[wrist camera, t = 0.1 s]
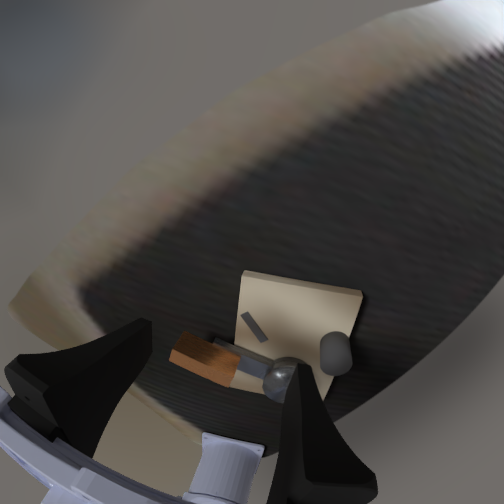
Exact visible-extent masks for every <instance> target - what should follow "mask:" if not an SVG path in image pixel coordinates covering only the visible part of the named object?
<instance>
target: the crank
mask: <svg viewBox="0 0 504 504" xmlns="http://www.w3.org/2000/svg"><path fill="white" fill-rule="evenodd" d="M169 361H171V362H173V363H175V364H177V365H179V366H181V367H183V368H185V369H187V370H190V371H192V372H194V373H196V374H198V375H200V376H203V377H205V378H207V379H209V380H212V381H214V382H216V383H218V384H221V385H223V386H226V387H229V385H230V383H231V381H232V380H233V378H234V375H235V372H236V370H240V371H242V372H245V373H247V374H250V375H252V376H255V377H257V378H260V379H262V380H263V385H262V388H263V391H264V393H265V395H266V396H267V397H269V398H270V399H272V400H274V401H276V402H279V403H284V399H285V394H286V390H287V388H288V385H289V383H290V380H291V378H292V375H293V373H294V370H295V368H296V365H297V363H302V364H307V363H305V362H304V361H302V360H300V359H297V358H293V357H282V358H278V359H275V360H274V361H271V360H268V359H266V358H263V357H261V356H258V355H256V354H253V353H251V352H249V351H246V350H244V349H242V348H239V347H237V346H235V345H232V344H230V343H228V342H225V341H223V340H221V339H219V338H215V340H214V342H213V344H212V343H210V342H207V341H205V340H203V339H201V338H199V337H197V336H195V335H193V334H190V333H188V332H186V331H184V332H183V334H182V335H181V337H180V338H179V340H178V341H177V343H176V344H175V346H174V347H173V349H172V352H171V356H170V359H169ZM307 365H308V364H307Z"/></svg>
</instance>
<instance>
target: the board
mask: <svg viewBox="0 0 504 504" xmlns="http://www.w3.org/2000/svg"><path fill="white" fill-rule="evenodd" d="M362 298H363V295H362V292H361V291H360V290H354V289H348V288H342V287H337V286H331V285H325V284H319V283H313V282H307V281H302V280H296V279H290V278H285V277H279V276H274V275H268V274H263V273H257V272H252V271H246V270H244V272H243V274H242V279H241V287H240V296H239V306H238V315H237V324H236V333H235V342H234V345H235V346H237V347H239V348H242V349H244V350H246V351H249V352H251V353H253V354H256V355H258V356H261V357H263V358H266V359H268V360H271V361H274V360H275V359H278V358H282V357H293V358H297V359H300V360H302V361H304V362H305V363H307V364H308V365H310V366H311V367H312V371H313V374H314V378H315V381H316V384H317V387H318V390H319V393H320V395H321V398H322V400H324V398H325V396H326V394H327V391H328V389H329V387H330V385H331V382H332V380H333V377H334V376H330V375H327V374H325V373H323V372H322V370H321V368H320V341H321V339H322V337H323V336H324V335H325V334H327V333H329V332H333V331H339V332H343V333H345V334H346V335H347V336H348V338H349V337H350V334H351V331H352V328H353V325H354V322H355V320H356V317H357V314H358V311H359V308H360V305H361V302H362ZM262 385H263V380H262V379H260V378H257V377H255V376H252V375H250V374H247V373H245V372H242V371H240V370H236V372H235V375H234V378H233V380H232V381H231V383H230V387H233V388H237V389H242V390H247V391H251V392H256V393H261V394H265V393H264V391H263V388H262Z"/></svg>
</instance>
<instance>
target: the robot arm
mask: <svg viewBox="0 0 504 504" xmlns="http://www.w3.org/2000/svg"><path fill="white" fill-rule="evenodd" d="M151 353H152V321H149V320H146V319H143V318H139V319H137V320H135V321H133V322H131V323H129V324H127V325H125V326H124V327H122V328H120V329H118V330H116V331H114V332H112V333H110V334H107V335H105V336H103V337H101V338H98V339H96V340H94V341H91V342H89V343H86V344H83V345H80V346H77V347H73V348H69V349H65V350H61V351H56V352H50V353H42V354H19V355H18V356H17V357H16V358H15V359H14V360H12V361H11V362H10V363H9V364H8V365H7V366H6V367H5V369H4V371H5V375H6V378H7V380H8V382H9V384H10V385H11V387H12V389H13V391H14V393H15V396H14V397H13V398H12V397H11V396H10V395H9V394H8V393H7V392H6V391H5V390H4V389H3V388H2V387H1V386H0V447H1V448H2V449H3V450H5V452H7V453H8V454H9V455H10V456H11V457H12V458H13V459H14V460H15V461H16V462H17V463H18V464H20V465H21V466H22V467H23V468H24V469H25V470H26V471H28V472H29V473H30V474H31V475H32V476H34V477H35V478H36V479H37V480H38V481H40V482H41V483H42V484H44V485H45V486H46V487H47V488H49V489H50V490H49V492H48V493H47V494H46V496H45V497H44V499H43V501H42V502H41V504H247V502H248V498H249V494H250V490H251V485H252V481H253V477H254V474H256V471H257V468H258V466H259V463H260V460H261V457H262V454H263V451H264V448H265V447H264V446H263V445H260V444H254V443H249V442H244V441H240V440H235V439H231V438H226V437H222V436H218V435H214V434H211V433H207V432H204V433H203V434H202V448H203V455H202V457H201V460H200V462H199V465H198V468H197V470H196V473H195V475H194V478H193V481H192V483H191V486H190V488H189V491H188V493H187V492H184V495H183V497H181V496H177V497H174V496H172V495H169V494H166V493H164V492H160V491H158V490H156V489H153V488H151V487H148V486H146V485H144V484H141V483H139V482H137V481H135V480H132V479H130V478H128V477H126V476H124V475H122V474H120V473H118V472H116V471H114V470H112V469H110V468H108V467H106V466H104V465H102V464H100V463H99V462H97V461H95V460H93V459H92V458H93V455H94V453H95V450H96V448H97V445H98V443H99V440H100V438H101V436H102V433H103V431H104V429H105V427H106V425H107V423H108V421H109V419H110V417H111V415H112V413H113V412H114V410H115V408H116V406H117V404H118V403H119V401H120V399H121V398H122V396H123V395H124V394H125V392H126V391H127V390H128V388H129V387H130V386H131V384H132V383H133V382H134V380H135V379H136V377H137V376H138V375H139V373H140V372H141V371H142V369H143V368H144V366H145V364H146V363H147V361H148V359H149V357H150V355H151ZM377 494H378V486H377V480H376V476H375V473H373V472H372V471H371V470H370V469H369V468H368V467H367V466H366V465H365V464H364V463H363V462H362V461H361V460H360V459H359V458H358V457H357V456H356V455H355V454H354V452H353V451H352V450H351V449H350V447H349V446H348V445H347V444H346V442H345V441H344V439H343V438H342V436H341V435H340V433H339V432H338V430H337V429H336V427H335V425H334V423H333V421H332V420H331V418H330V416H329V414H328V411H327V409H326V407H325V405H324V403H323V400H322V398H321V395H320V393H319V390H318V387H317V384H316V381H315V378H314V374H313V371H312V367H311V366H310V365H307V364H302V363H297V365H296V368H295V370H294V373H293V375H292V378H291V380H290V383H289V385H288V388H287V390H286V394H285V399H284V405H283V411H282V423H281V436H280V447H279V454H278V459H277V464H276V469H275V473H274V477H273V481H272V485H271V489H270V492H269V496H268V500H267V503H266V504H367V503H369V502H370V501H372V500H373V499H374V498H375V497H376V496H377Z"/></svg>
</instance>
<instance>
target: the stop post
mask: <svg viewBox="0 0 504 504" xmlns="http://www.w3.org/2000/svg"><path fill="white" fill-rule="evenodd" d="M351 367H352V355H351V348H350V342H349V338H348V336H347V335H346V334H345V333H343V332H339V331H333V332H329V333H327V334H325V335H324V336H323V337H322V339H321V341H320V368H321V370H322V372H323V373H325V374H327V375H330V376H339V375H342V374H345V373H346V372H348V371H349V370H350V368H351Z"/></svg>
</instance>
